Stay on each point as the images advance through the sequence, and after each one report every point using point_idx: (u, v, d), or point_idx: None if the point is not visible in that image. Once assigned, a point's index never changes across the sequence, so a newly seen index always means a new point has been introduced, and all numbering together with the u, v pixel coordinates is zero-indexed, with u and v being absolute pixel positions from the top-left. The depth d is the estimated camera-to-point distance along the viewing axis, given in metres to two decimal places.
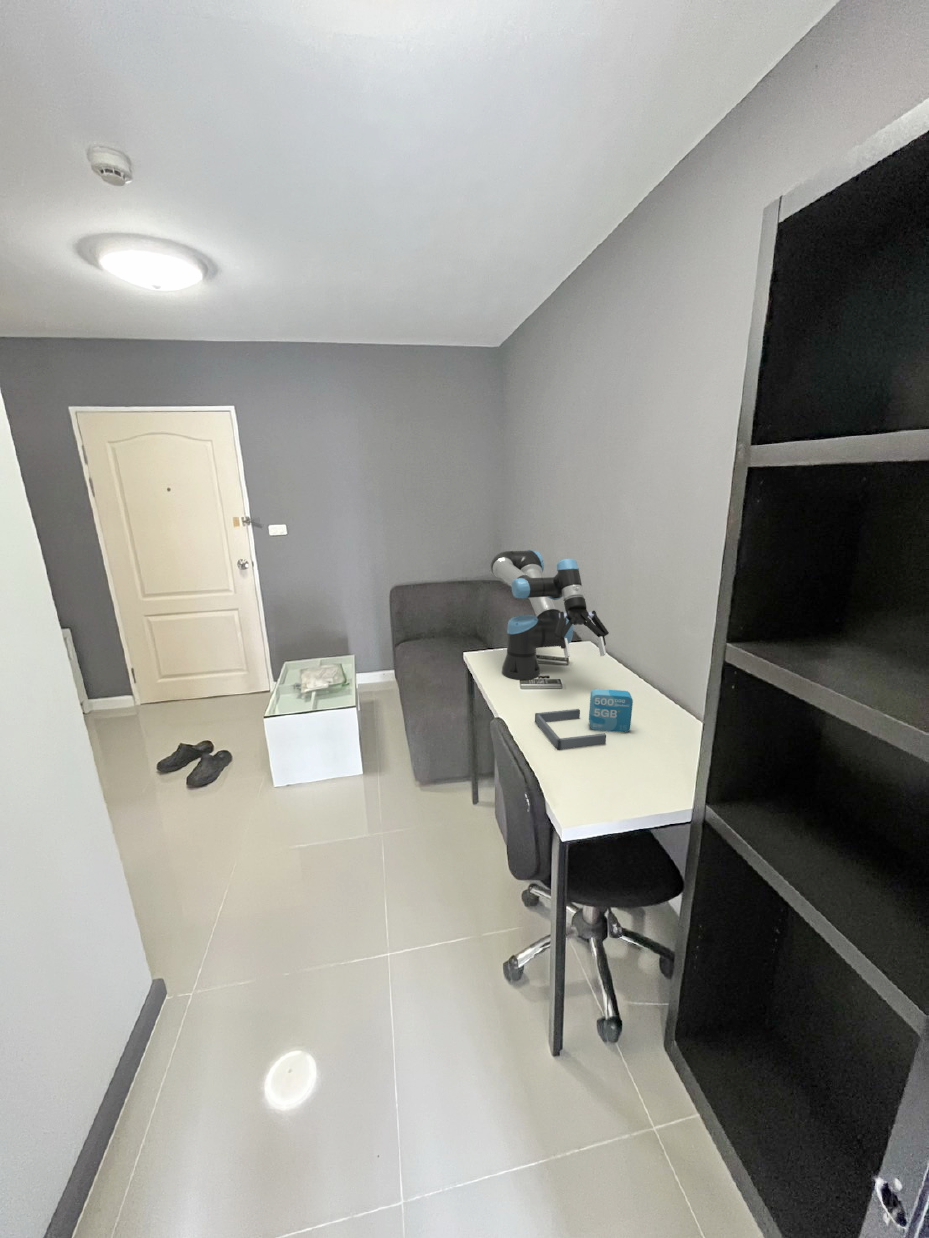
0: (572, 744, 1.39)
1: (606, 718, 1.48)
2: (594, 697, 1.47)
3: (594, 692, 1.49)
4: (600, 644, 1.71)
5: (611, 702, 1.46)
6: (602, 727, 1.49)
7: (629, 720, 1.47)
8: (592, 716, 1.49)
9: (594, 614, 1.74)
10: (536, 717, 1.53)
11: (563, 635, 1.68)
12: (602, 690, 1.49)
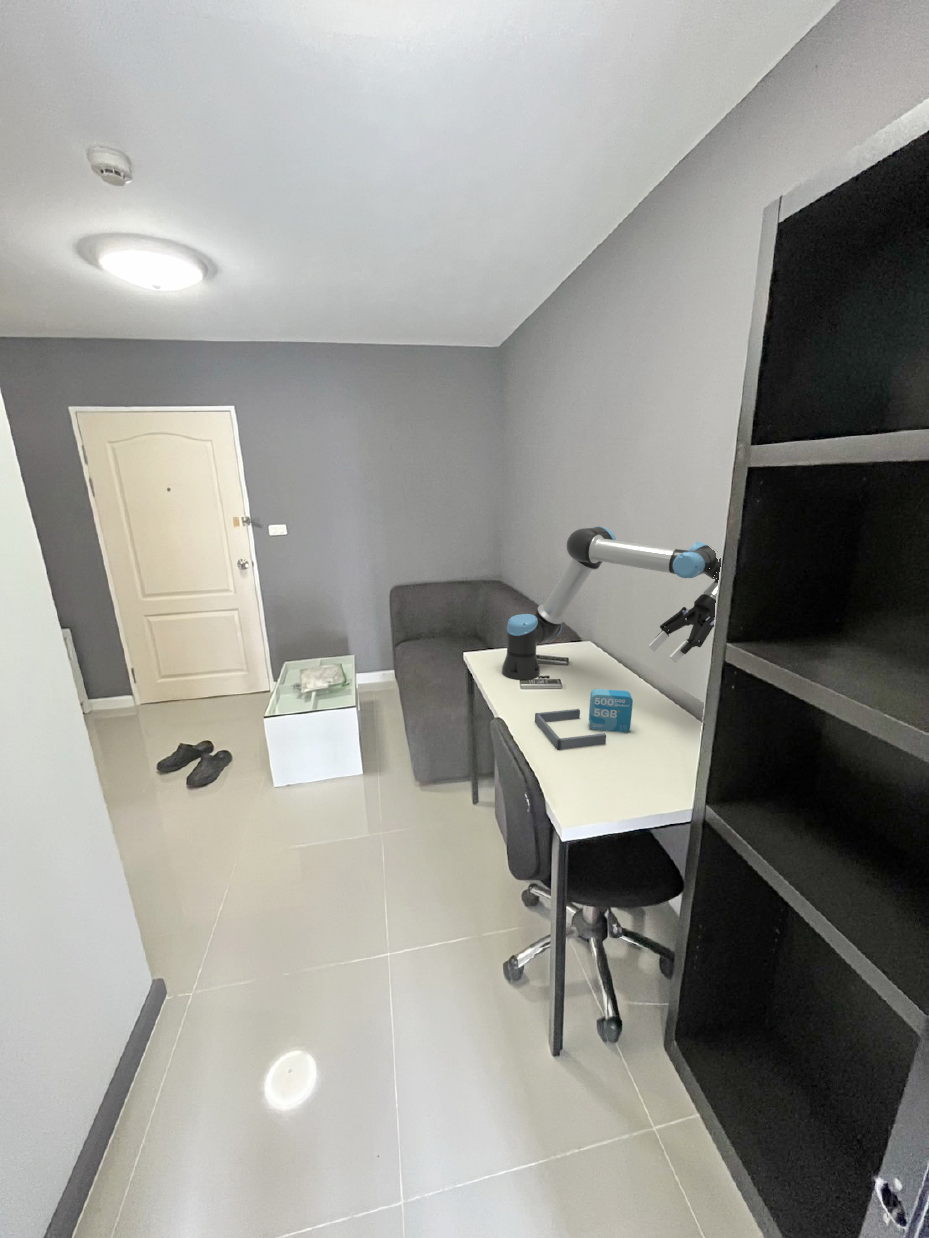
0: (572, 744, 1.39)
1: (606, 718, 1.48)
2: (594, 697, 1.47)
3: (594, 692, 1.49)
4: (661, 640, 1.53)
5: (611, 702, 1.46)
6: (602, 727, 1.49)
7: (629, 720, 1.47)
8: (592, 716, 1.49)
9: None
10: (536, 717, 1.53)
11: None
12: (602, 690, 1.49)
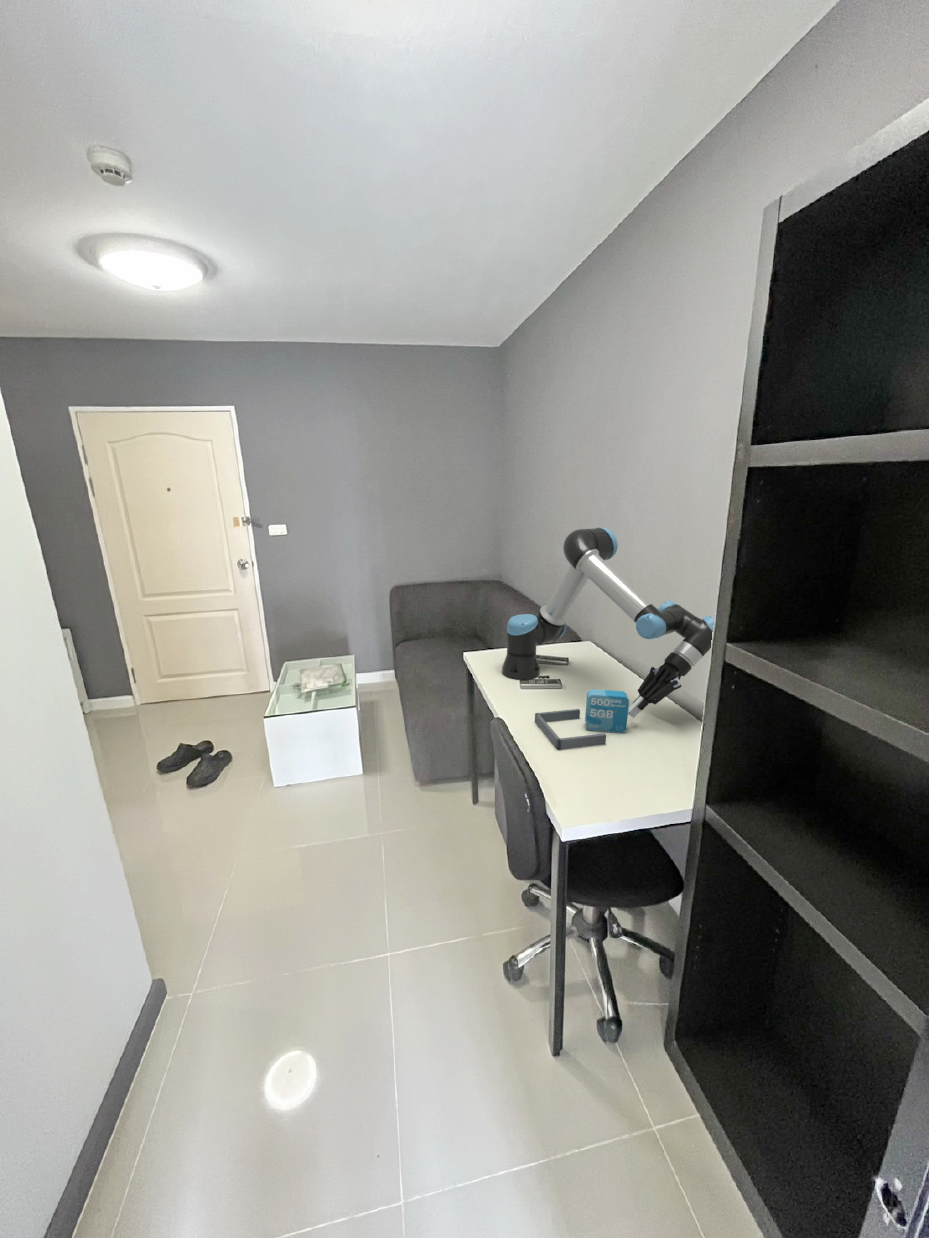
0: (572, 744, 1.39)
1: (602, 718, 1.48)
2: (590, 697, 1.46)
3: (590, 692, 1.48)
4: None
5: (608, 702, 1.46)
6: (598, 728, 1.49)
7: (625, 720, 1.47)
8: (588, 717, 1.48)
9: None
10: (536, 717, 1.53)
11: None
12: (598, 690, 1.49)
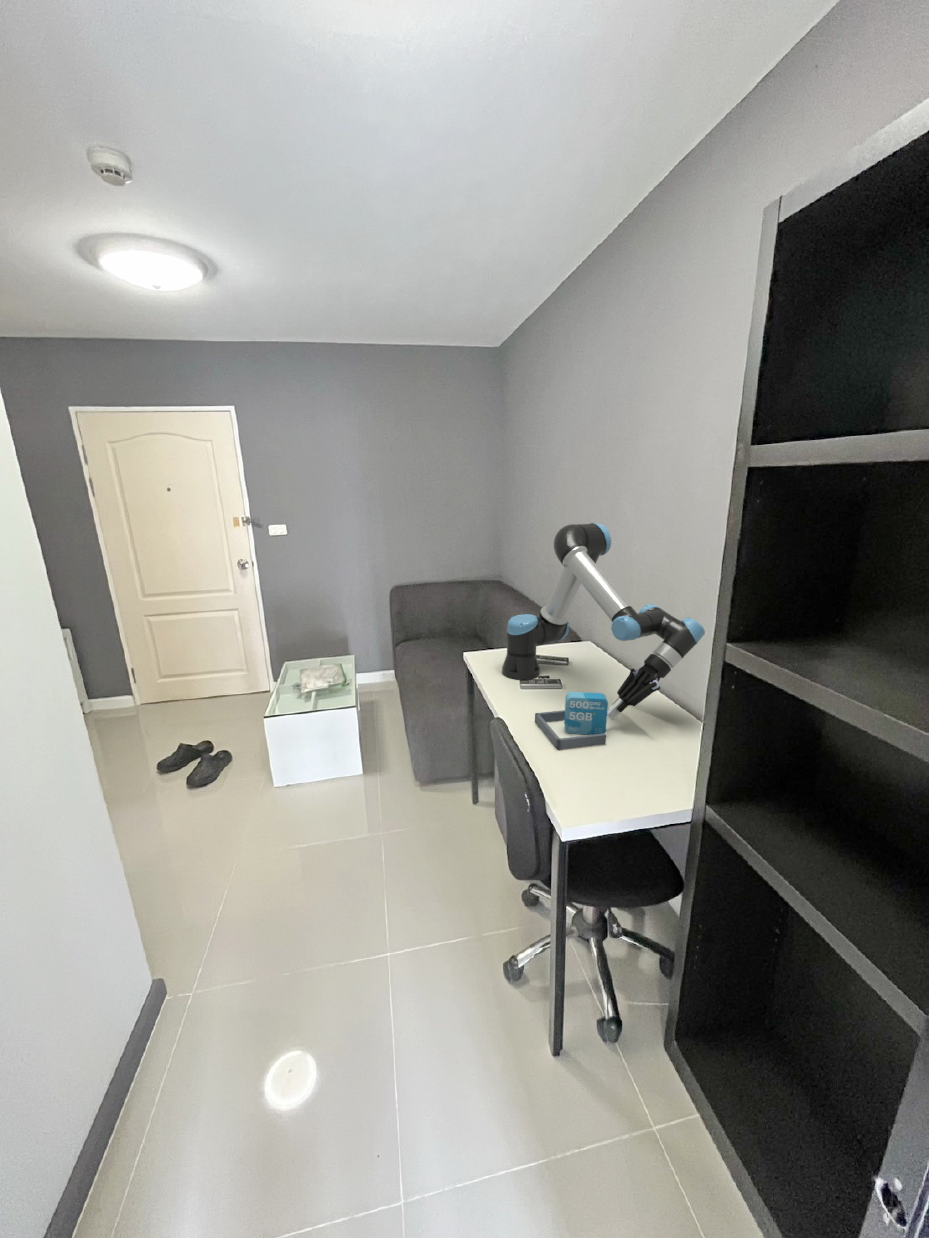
0: (572, 744, 1.39)
1: (581, 721, 1.46)
2: (569, 700, 1.45)
3: (569, 695, 1.46)
4: None
5: (587, 705, 1.44)
6: (577, 731, 1.47)
7: (604, 723, 1.45)
8: (567, 720, 1.46)
9: None
10: (536, 717, 1.53)
11: None
12: (577, 693, 1.47)
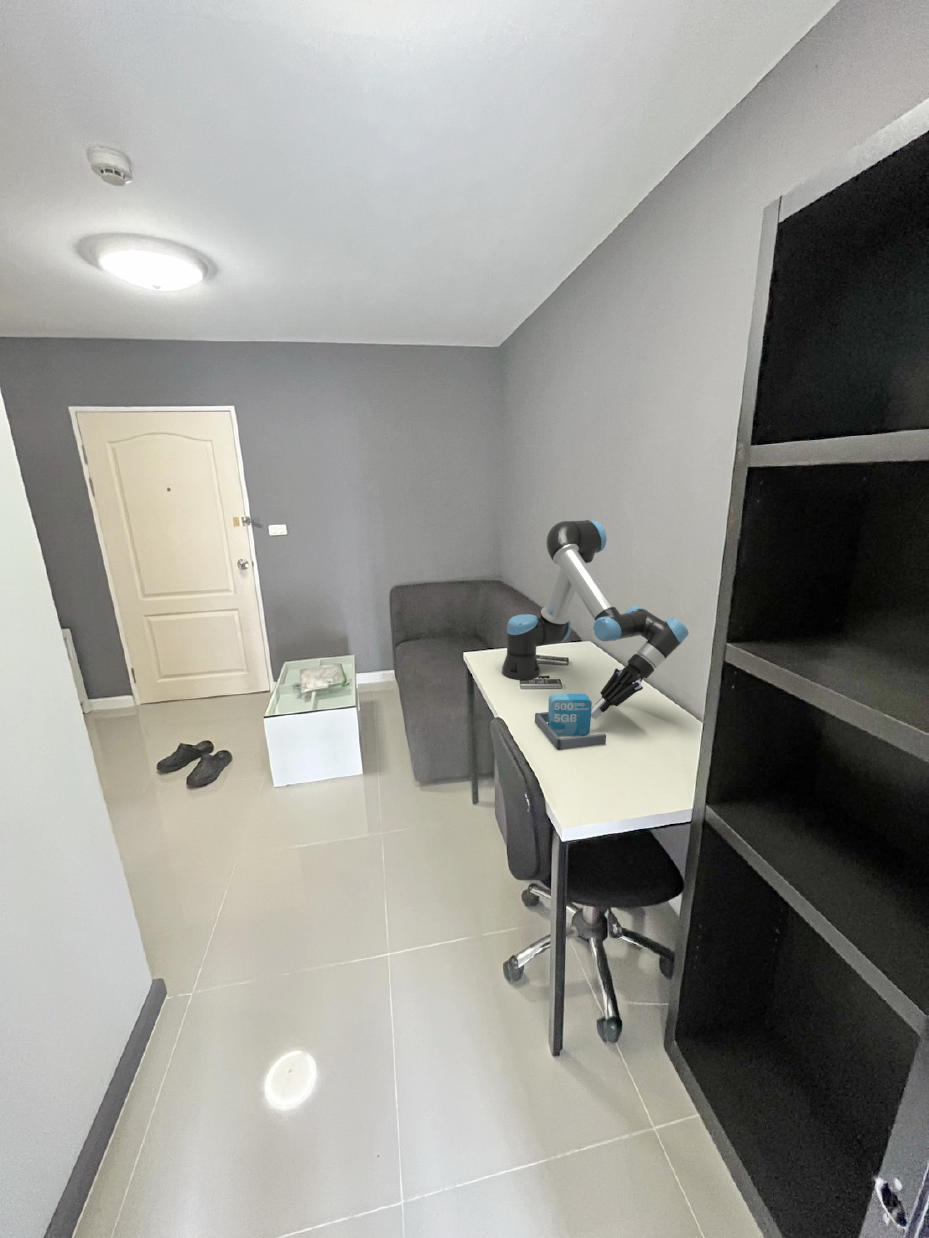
0: (572, 744, 1.39)
1: (566, 722, 1.45)
2: (554, 703, 1.43)
3: (553, 697, 1.44)
4: None
5: (571, 706, 1.43)
6: (562, 733, 1.46)
7: (589, 723, 1.45)
8: (552, 722, 1.45)
9: None
10: (536, 717, 1.53)
11: None
12: (561, 694, 1.46)
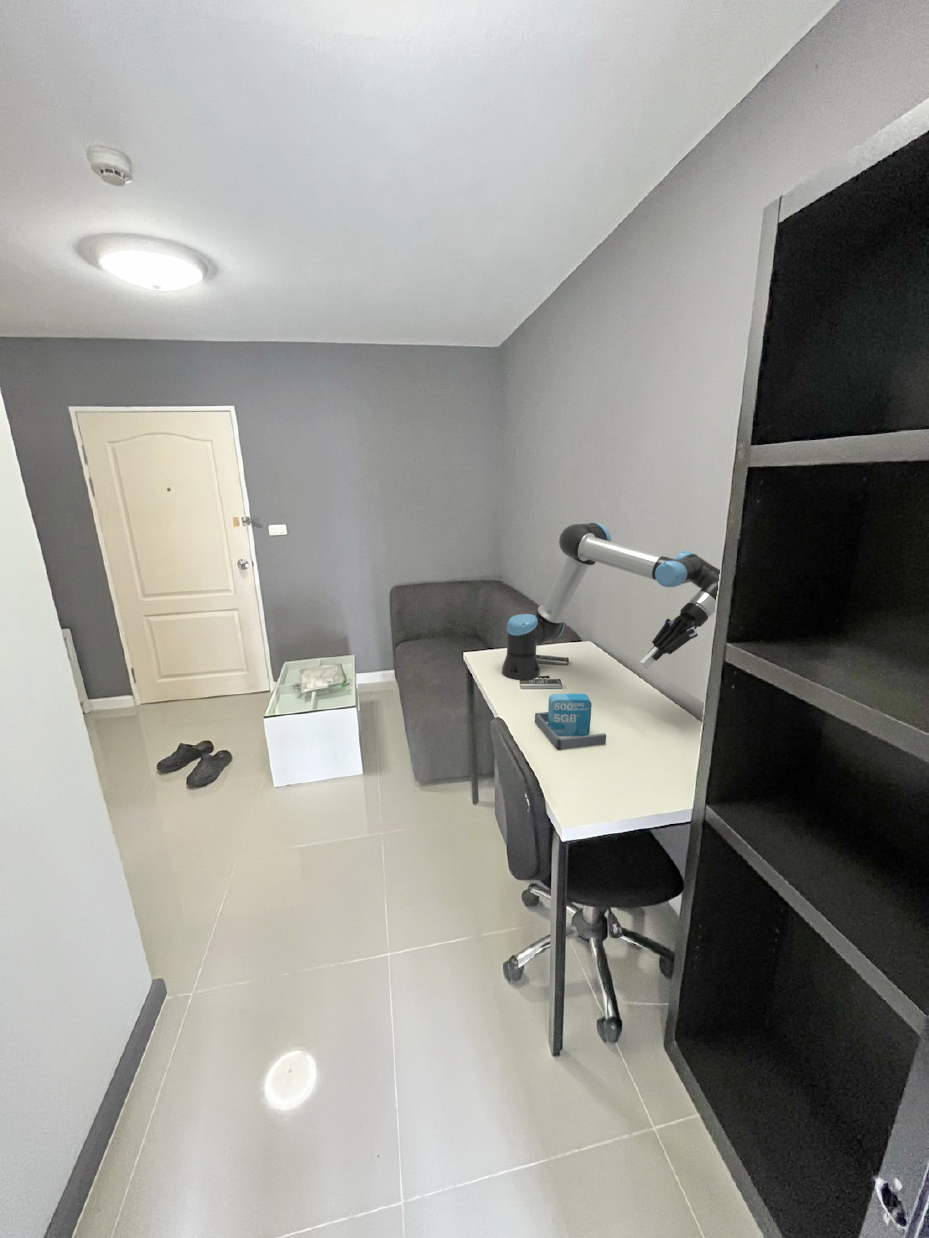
0: (572, 744, 1.39)
1: (566, 723, 1.45)
2: (553, 703, 1.43)
3: (553, 697, 1.45)
4: None
5: (571, 707, 1.43)
6: (562, 733, 1.46)
7: (588, 723, 1.45)
8: (552, 722, 1.45)
9: None
10: (536, 717, 1.53)
11: None
12: (560, 695, 1.46)
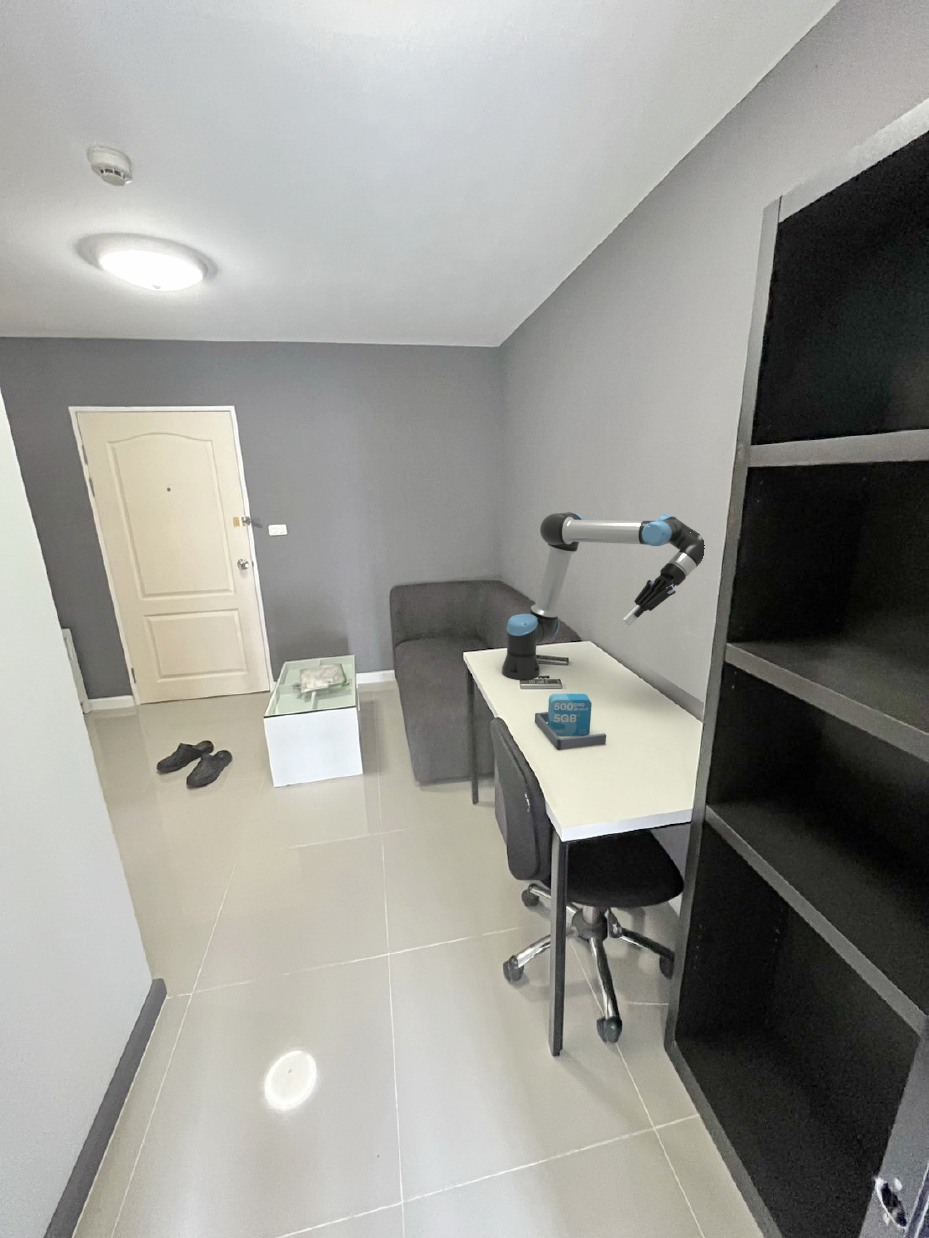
0: (572, 744, 1.39)
1: (566, 723, 1.45)
2: (553, 703, 1.43)
3: (553, 697, 1.45)
4: None
5: (571, 707, 1.43)
6: (562, 733, 1.46)
7: (588, 723, 1.45)
8: (552, 722, 1.45)
9: None
10: (536, 717, 1.53)
11: None
12: (560, 695, 1.46)
